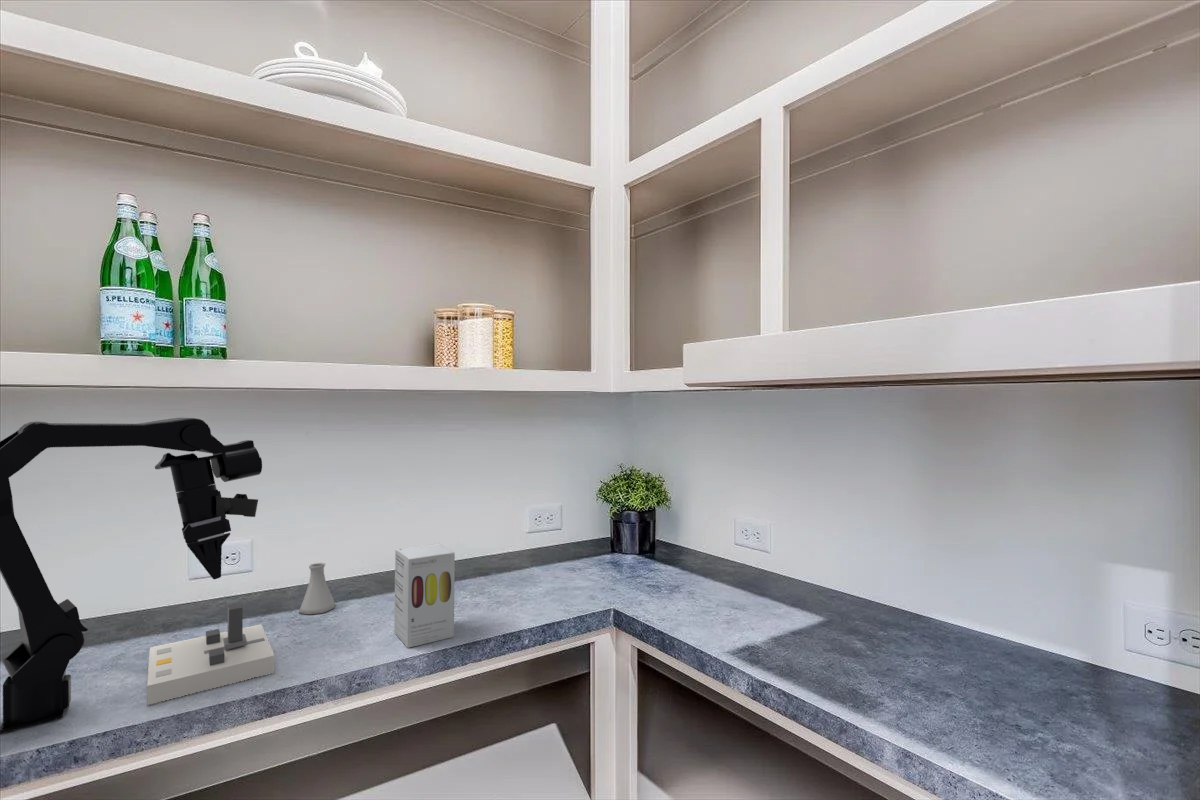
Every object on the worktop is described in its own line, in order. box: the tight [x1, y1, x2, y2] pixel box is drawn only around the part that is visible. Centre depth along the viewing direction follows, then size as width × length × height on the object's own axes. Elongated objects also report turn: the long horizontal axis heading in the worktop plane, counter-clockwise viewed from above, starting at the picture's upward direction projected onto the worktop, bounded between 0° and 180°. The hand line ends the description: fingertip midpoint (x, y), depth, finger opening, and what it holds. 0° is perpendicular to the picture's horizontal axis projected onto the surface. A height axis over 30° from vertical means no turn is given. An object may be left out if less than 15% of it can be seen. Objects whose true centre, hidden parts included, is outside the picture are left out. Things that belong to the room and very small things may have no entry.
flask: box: [298, 562, 336, 615], centre depth 126 cm, size 7×7×10 cm
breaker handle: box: [224, 602, 247, 650], centre depth 101 cm, size 3×4×7 cm
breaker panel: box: [146, 623, 275, 706], centre depth 98 cm, size 17×17×4 cm
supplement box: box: [393, 542, 456, 649], centre depth 113 cm, size 10×9×17 cm
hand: (215, 576), depth 99 cm, fingers open, 9 cm apart
